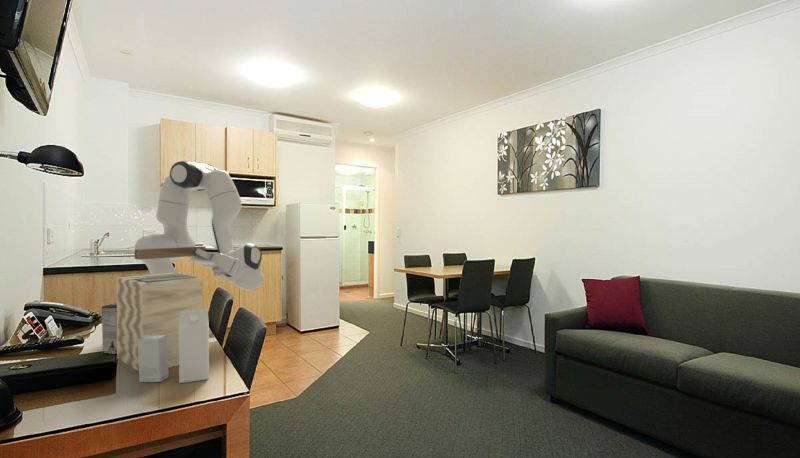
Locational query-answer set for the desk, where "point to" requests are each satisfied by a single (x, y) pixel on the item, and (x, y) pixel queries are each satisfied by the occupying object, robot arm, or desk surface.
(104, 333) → the coffee box
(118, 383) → the desk surface
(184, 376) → the milk carton
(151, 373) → the skincare box
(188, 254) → the walnut bar
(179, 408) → the desk surface
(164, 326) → the birch stand
